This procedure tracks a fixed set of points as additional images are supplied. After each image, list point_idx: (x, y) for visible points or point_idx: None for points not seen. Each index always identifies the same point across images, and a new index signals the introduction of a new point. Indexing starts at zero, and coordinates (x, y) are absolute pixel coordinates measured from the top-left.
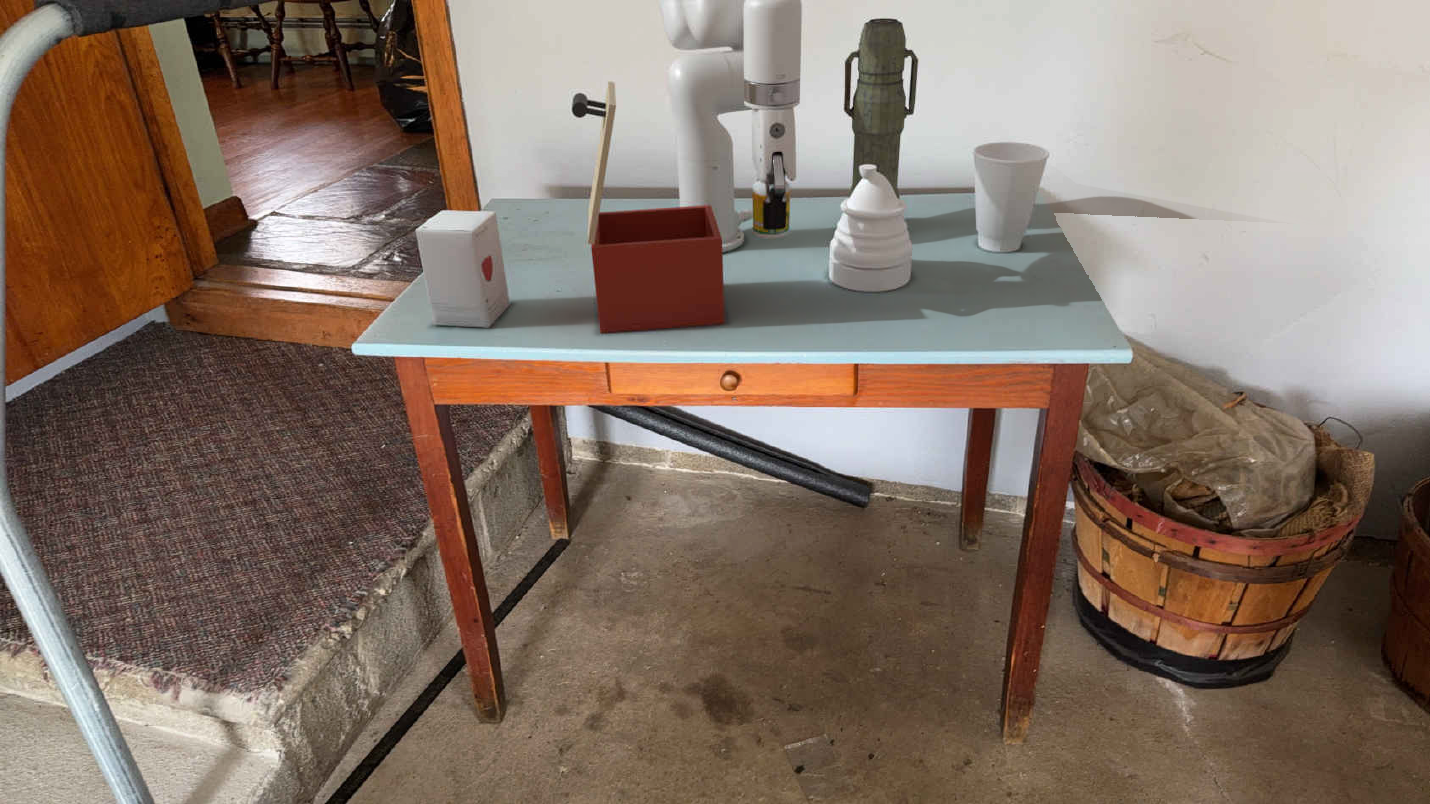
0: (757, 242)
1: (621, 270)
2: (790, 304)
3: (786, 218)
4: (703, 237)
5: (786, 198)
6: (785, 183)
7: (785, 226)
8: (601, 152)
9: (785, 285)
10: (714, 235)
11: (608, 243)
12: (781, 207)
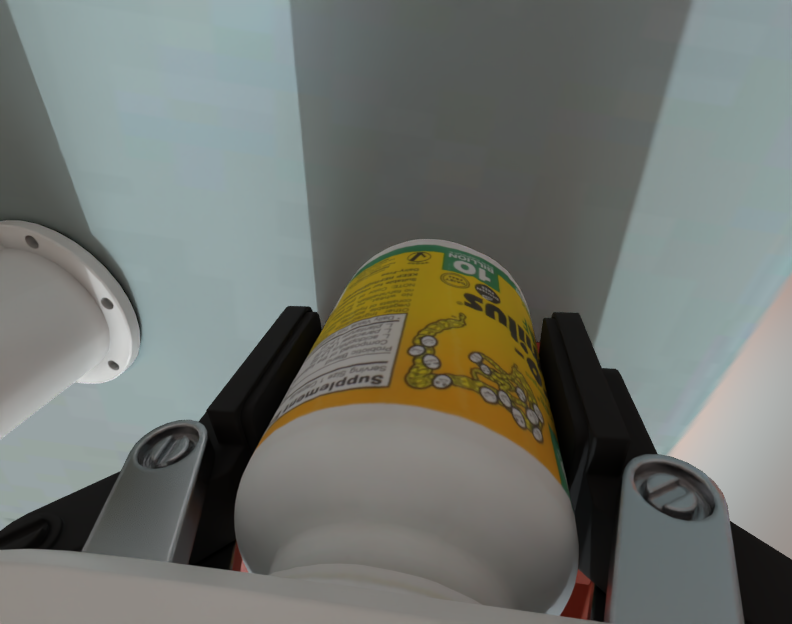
0: (22, 183)
1: None
2: (481, 151)
3: (511, 312)
4: (586, 610)
5: (528, 414)
6: (455, 518)
7: (579, 316)
8: None
9: (332, 145)
10: (579, 583)
11: None
12: (653, 450)
